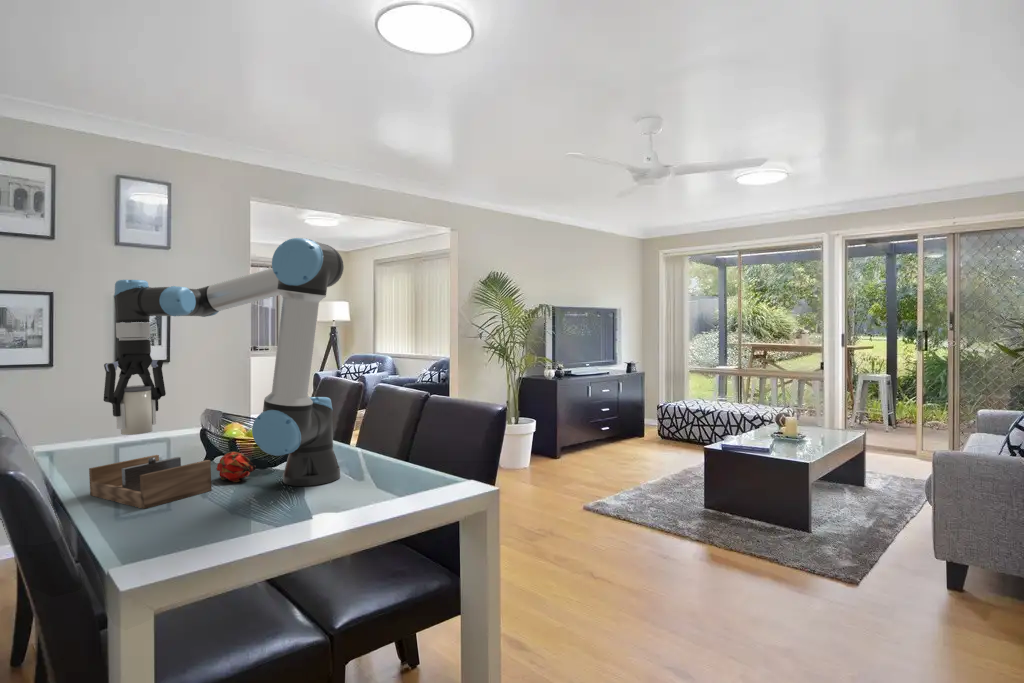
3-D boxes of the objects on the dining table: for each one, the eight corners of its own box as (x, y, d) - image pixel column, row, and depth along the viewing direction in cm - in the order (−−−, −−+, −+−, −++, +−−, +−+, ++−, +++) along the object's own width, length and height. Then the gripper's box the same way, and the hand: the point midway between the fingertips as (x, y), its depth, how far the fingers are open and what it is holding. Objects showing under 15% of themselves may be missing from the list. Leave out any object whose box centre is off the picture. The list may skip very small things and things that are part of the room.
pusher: (181, 482, 159) (180, 452, 158) (126, 496, 146) (124, 464, 146) (178, 481, 159) (177, 452, 159) (122, 495, 147) (121, 463, 147)
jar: (158, 430, 157) (156, 385, 157) (129, 435, 151) (128, 388, 150) (143, 428, 161) (141, 384, 160) (114, 433, 154) (113, 387, 154)
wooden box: (211, 490, 155) (210, 460, 154) (144, 509, 140) (142, 475, 140) (157, 479, 167) (156, 451, 167) (90, 495, 152) (88, 464, 152)
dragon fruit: (225, 481, 170) (249, 493, 163) (202, 469, 164) (225, 482, 157) (243, 454, 173) (267, 465, 166) (221, 442, 167) (244, 453, 160)
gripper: (163, 337, 165) (166, 419, 166) (83, 340, 148) (87, 431, 149) (179, 337, 162) (182, 421, 162) (99, 340, 144) (102, 434, 145)
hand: (136, 426), depth 156 cm, fingers closed on jar, 7 cm apart
